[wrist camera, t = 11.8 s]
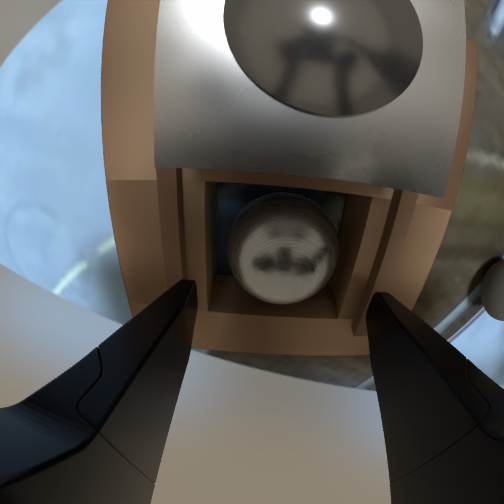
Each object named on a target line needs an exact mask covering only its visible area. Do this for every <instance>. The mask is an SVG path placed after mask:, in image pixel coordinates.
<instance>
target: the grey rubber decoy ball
mask: <svg viewBox="0 0 504 504" xmlns="http://www.w3.org/2000/svg"><path fill="white" fill-rule="evenodd" d="M481 300H482V303H483V306H484V308H485V310H486V311H487V313H488V314H489V315H490V316H491V317H493V318H495V319H497V320H500V321H504V260H501V261H498V262H496V263H495V264H493V265H492V266H491V267H490V268H489V269H488V271H487V272H486V274H485V276H484V278H483V281H482V285H481Z"/></svg>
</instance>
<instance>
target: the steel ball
mask: <svg viewBox="0 0 504 504" xmlns="http://www.w3.org/2000/svg"><path fill="white" fill-rule="evenodd" d="M338 254H339V243H338V237H337V233H336V230H335V227H334V225H333V223H332V221H331V219H330V218H329V216H328V215H327V213H326V212H325V211H324V210H323V209H322V208H321V207H320V206H319V205H318V204H316V203H315V202H314V201H312V200H310V199H309V198H307V197H304V196H302V195H299V194H295V193H288V192H277V193H271V194H267V195H264V196H261V197H259V198H257V199H255V200H253V201H252V202H250V203H249V204H248V205H246V206H245V207H244V208H243V209H242V210H241V212H240V213H239V214H238V215H237V217H236V218H235V220H234V222H233V224H232V226H231V228H230V231H229V235H228V240H227V257H228V262H229V266H230V268H231V271H232V273H233V275H234V277H235V278H236V280H237V281H238V282H239V284H240V285H241V286H242V287H243V288H244V289H245V290H246V291H247V292H248V293H250V294H251V295H253V296H254V297H256V298H258V299H260V300H262V301H265V302H268V303H273V304H292V303H297V302H300V301H303V300H306V299H308V298H310V297H312V296H313V295H315V294H316V293H317V292H318V291H320V290H321V289H322V288H323V287H324V286H325V285H326V283H327V282H328V281H329V279H330V278H331V276H332V274H333V272H334V270H335V267H336V264H337V260H338Z"/></svg>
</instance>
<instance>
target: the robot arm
mask: <svg viewBox="0 0 504 504" xmlns="http://www.w3.org/2000/svg"><path fill="white" fill-rule="evenodd" d="M197 309H198V298H197V284H196V281H195V280H189V279H181V280H179V281H178V282H177V283H176V284H174V285H173V286H172V287H170V288H169V289H168V290H167V291H165V292H164V293H163V294H162V295H160V296H159V297H158V298H157V299H155V300H154V301H153V302H152V303H150V304H149V305H148V306H147V307H145V308H144V309H143V310H142V311H140V312H139V313H138V314H137V315H135V316H134V317H133V318H132V319H130V320H129V321H128V322H127V323H125V324H124V325H123V326H122V327H120V328H119V329H118V330H117V331H116V332H115V333H113V334H112V335H111V336H110V337H108V338H107V339H106V340H105V341H103V342H102V343H101V344H100V345H99V346H98V347H99V348H98V347H96V348H95V349H93V350H92V351H91V352H90V353H89V354H87V355H86V356H85V357H84V358H83V359H81V360H80V361H79V362H77V363H76V364H75V365H73V366H72V367H71V368H69V369H68V370H67V371H65V372H64V373H62V374H61V375H60V376H58V377H57V378H55V379H54V380H52V381H51V382H49V383H48V384H46V385H45V386H43V387H42V388H40V389H39V390H37V391H36V392H35V393H33V394H31V395H30V396H28V397H27V398H26V399H24V400H22V401H21V402H19V403H17V404H15V405H12V406H9V407H5V408H0V504H150V503H151V499H152V495H153V490H154V486H155V484H154V483H155V482H156V478H157V474H158V470H159V466H160V462H161V458H162V454H163V450H164V446H165V443H166V439H167V435H168V431H169V428H170V424H171V421H172V417H173V413H174V410H175V406H176V402H177V399H178V395H179V392H180V388H181V384H182V381H183V378H184V374H185V371H186V367H187V364H188V360H189V356H190V351H191V346H192V339H193V333H194V327H195V321H196V315H197ZM366 327H367V335H368V343H369V352H370V360H371V366H372V371H373V376H374V381H375V386H376V391H377V396H378V402H379V407H380V413H381V419H382V425H383V431H384V438H385V445H386V453H387V461H388V469H389V479H390V483H391V484H390V492H391V504H504V389H503V388H501V387H500V386H499V385H498V384H496V383H495V382H494V381H493V380H491V379H490V378H489V377H488V376H487V375H485V374H484V373H483V372H482V371H481V370H480V369H479V368H477V367H476V366H475V365H474V364H473V363H472V362H471V361H470V360H469V359H466V357H465V356H464V355H463V354H462V353H461V352H459V351H458V350H457V349H456V348H455V347H454V346H453V345H451V344H450V343H449V342H448V341H447V340H446V339H444V338H443V337H442V336H441V335H440V334H439V333H437V332H436V331H435V330H434V329H433V328H431V327H430V326H429V325H428V324H427V323H425V322H424V321H423V320H422V319H421V318H419V317H418V316H417V315H416V314H414V313H413V312H412V311H411V310H410V309H408V308H407V307H406V306H405V305H403V304H402V303H401V302H400V301H398V300H397V299H396V298H395V297H393V296H392V295H391V294H390V293H388V292H375V293H374V294H373V296H372V299H371V301H370V304H369V307H368V309H367V312H366Z"/></svg>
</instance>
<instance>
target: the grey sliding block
mask: <svg viewBox="0 0 504 504" xmlns="http://www.w3.org/2000/svg"><path fill="white" fill-rule="evenodd" d="M465 61H466V24H465V7H464V0H160V5H159V13H158V23H157V35H156V48H155V66H154V98H153V131H154V165H155V168H192V169H220V170H239V171H254V172H268V173H279V174H290V175H300V176H309V177H318V178H327V179H334V180H342V181H349V182H356V183H363V184H369V185H376V186H382V187H388V188H393V189H399V190H404V191H410V192H415V193H420V194H425V195H430V196H435V197H439V198H443V197H444V193H445V189H446V186H447V182H448V178H449V174H450V169H451V165H452V161H453V156H454V151H455V146H456V141H457V135H458V129H459V123H460V116H461V109H462V100H463V91H464V79H465Z"/></svg>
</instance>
